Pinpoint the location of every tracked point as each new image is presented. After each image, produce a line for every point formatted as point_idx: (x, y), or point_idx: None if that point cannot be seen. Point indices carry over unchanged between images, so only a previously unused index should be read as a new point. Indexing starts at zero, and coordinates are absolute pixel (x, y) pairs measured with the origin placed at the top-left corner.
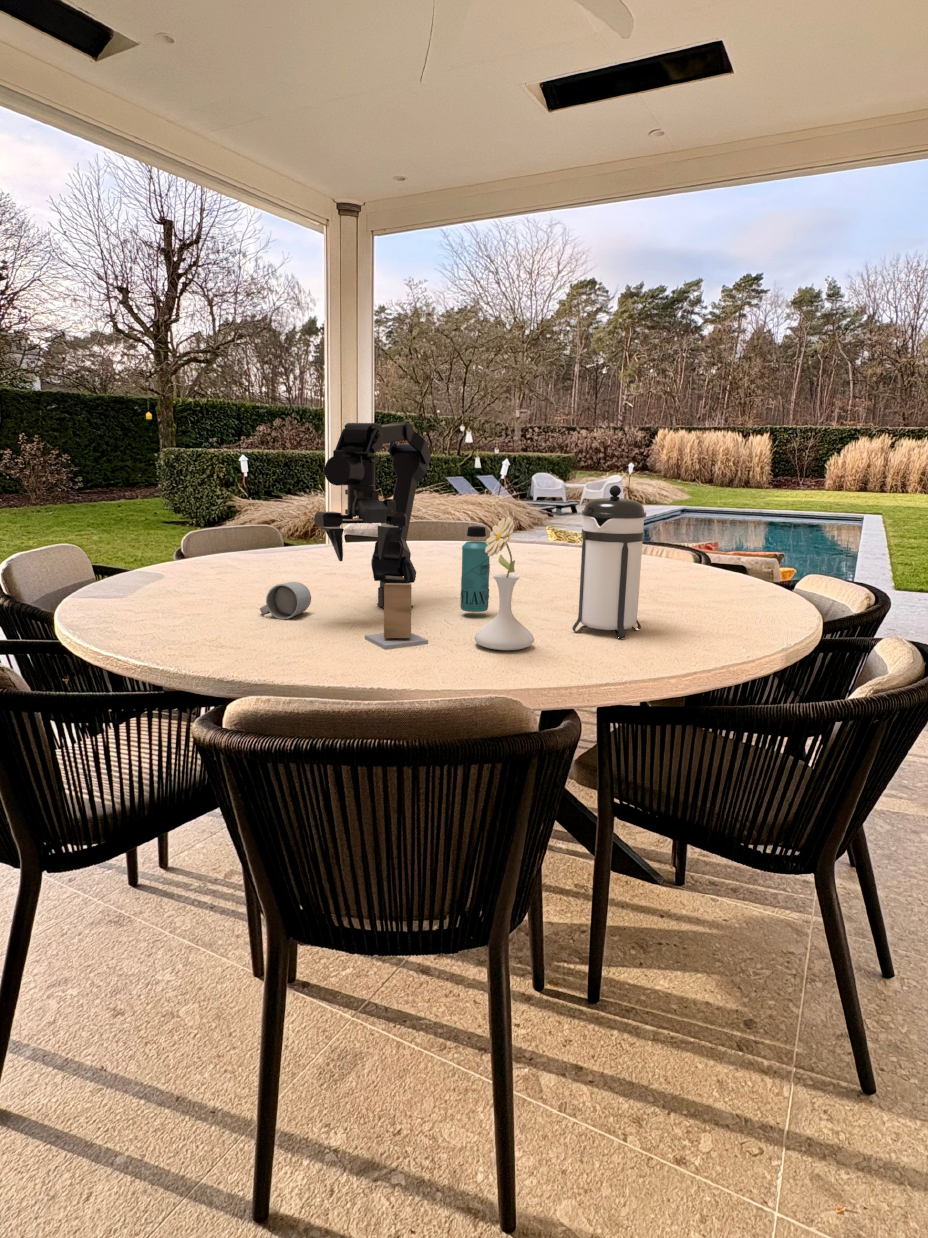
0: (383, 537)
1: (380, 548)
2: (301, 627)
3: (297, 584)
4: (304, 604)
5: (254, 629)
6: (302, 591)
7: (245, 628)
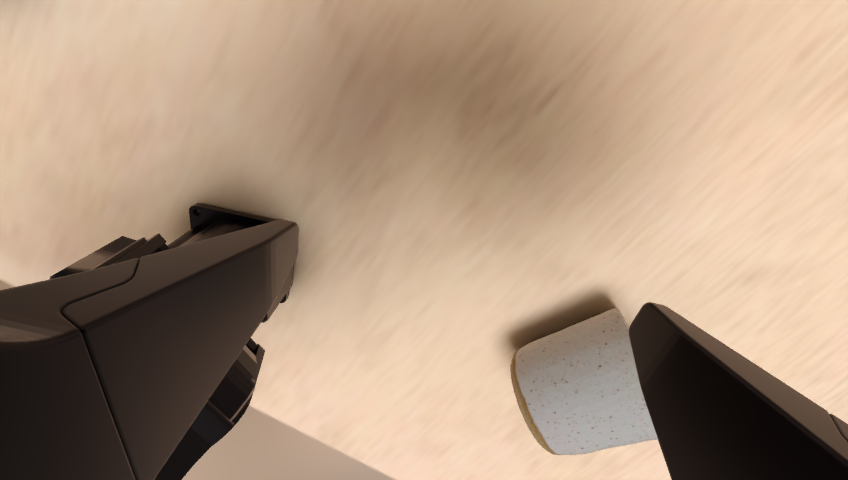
0: (121, 364)
1: (244, 300)
2: (675, 207)
3: (584, 418)
4: (568, 336)
5: (790, 274)
6: (583, 376)
7: (793, 299)
